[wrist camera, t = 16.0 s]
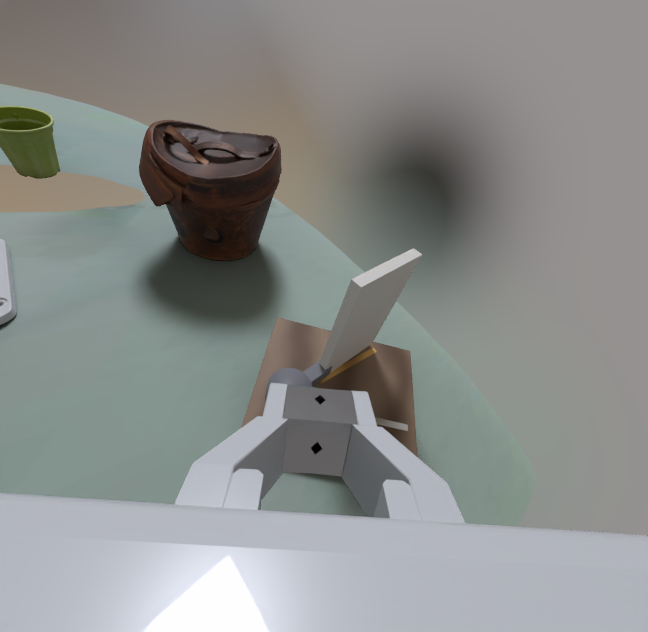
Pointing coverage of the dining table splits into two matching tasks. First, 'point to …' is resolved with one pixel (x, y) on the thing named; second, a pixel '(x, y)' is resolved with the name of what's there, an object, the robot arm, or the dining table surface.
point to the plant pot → (28, 141)
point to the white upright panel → (356, 319)
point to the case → (211, 184)
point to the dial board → (344, 376)
